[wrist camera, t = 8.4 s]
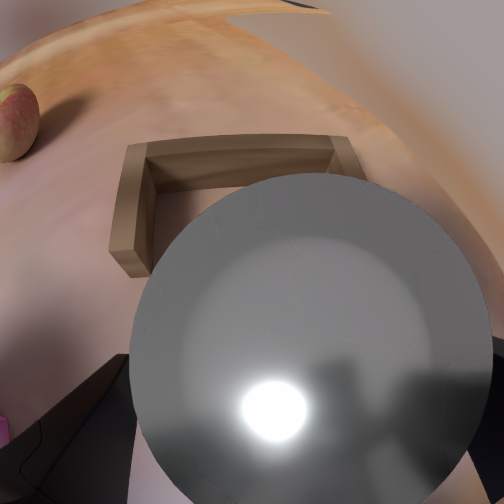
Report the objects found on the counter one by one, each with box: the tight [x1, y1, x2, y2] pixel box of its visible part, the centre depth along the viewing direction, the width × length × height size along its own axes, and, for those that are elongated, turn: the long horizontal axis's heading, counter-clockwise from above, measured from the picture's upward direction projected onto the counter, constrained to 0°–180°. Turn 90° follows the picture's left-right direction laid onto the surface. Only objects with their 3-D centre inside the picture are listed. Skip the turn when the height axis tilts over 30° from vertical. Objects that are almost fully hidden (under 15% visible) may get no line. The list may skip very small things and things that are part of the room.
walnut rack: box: [109, 134, 367, 278], centre depth 18 cm, size 8×16×4 cm, turn 97°
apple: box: [0, 84, 40, 163], centre depth 19 cm, size 9×9×8 cm
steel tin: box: [129, 173, 493, 504], centre depth 9 cm, size 6×6×13 cm
